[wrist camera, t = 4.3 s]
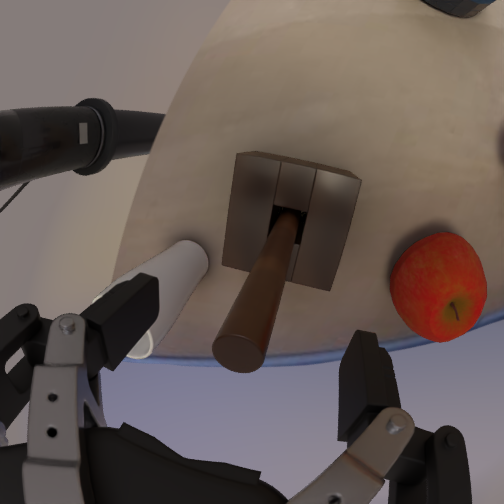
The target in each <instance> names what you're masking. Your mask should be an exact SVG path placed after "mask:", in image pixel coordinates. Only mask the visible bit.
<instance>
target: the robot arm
mask: <svg viewBox="0 0 504 504" xmlns="http://www.w3.org/2000/svg"><path fill="white" fill-rule="evenodd" d="M105 141H106V125H105V121H104V118H103V116H102V114H101V113H100V111H99V110H98V109H96V108H95V107H92V106H82V107H72V106H70V107H69V106H66V107H63V106H62V107H37V108H21V109H11V110H3V111H0V191H1V190H4V189H7V188H10V187H12V186H16V185H19V184H22V183H23V185H22V186H21V187H20V188H19V189H18V190H17V191H16V192H15V193H14V195H13V196H12V197H11V198H10V199H9V200H8V201H7V202H6V203H5V204H4V205H3V207H2V208H1V209H0V212H2V211H3V210H4V209H5V208H6V207H7V206H8V204H9V203H10V202H11V201H12V200H13V199H14V198H15V197H16V196H17V195H18V194H19V193H20V192H21V190H22V189H23V188H24V187H25V186H26V185H27V184H28V183H29V182H30V181H32V180H35V179H39V178H42V177H46V176H50V175H53V174H57V173H61V172H65V171H70V170H74V169H78V168H86V167H89V166H91V165H93V164H94V163H95V162H96V161H97V160H98V159H99V157H100V155H101V153H102V151H103V149H104V145H105ZM159 310H160V303H159V280H158V278H157V277H155V276H151V275H148V274H145V273H142V272H140V273H138V274H137V275H136V276H135V277H133V278H132V279H131V280H130V281H129V280H126V281H123V282H121V283H118V284H116V285H115V286H114V287H112V288H111V289H110V290H109V291H108V292H106V293H105V294H104V295H102V297H100V298H99V299H98V300H96V301H95V302H94V303H93V304H92V305H90V306H89V307H88V308H87V309H85V310H84V311H83V312H82V313H81V314H80V315H77V314H72V313H68V314H63V315H60V316H58V317H57V318H55V319H54V320H50V319H46V318H42V317H40V314H39V312H38V308H37V307H36V306H35V305H32V304H21V305H19V306H17V307H15V308H14V309H12V310H11V311H10V312H9V313H8V314H6V315H5V316H4V317H3V318H2V319H0V504H369V503H370V501H371V500H372V499H373V498H374V497H375V495H376V494H377V493H378V491H380V489H381V488H382V486H383V485H384V483H385V480H384V479H387V480H390V481H389V497H388V504H472V494H471V482H470V473H469V465H468V458H467V452H466V446H465V441H464V437H463V435H462V434H461V432H460V431H459V430H458V429H456V428H455V427H453V426H449V425H447V426H442V427H440V428H439V429H438V430H437V431H436V432H435V433H433V432H429V431H426V430H423V429H420V428H418V427H415V424H414V421H413V419H412V417H411V416H410V415H409V413H407V412H406V411H405V410H403V409H401V404H400V398H399V393H398V387H397V382H396V379H395V373H394V370H393V364H392V359H391V357H390V355H389V354H388V352H387V351H386V349H385V348H382V347H379V345H378V340H377V336H376V334H375V333H372V332H367V331H362V330H356V331H355V333H354V335H353V337H352V339H351V341H350V343H349V346H348V348H347V350H346V352H345V354H344V356H343V358H342V360H341V363H340V368H339V414H338V441H344V442H347V449H346V450H345V451H344V452H343V453H342V454H341V455H340V456H339V457H338V458H337V459H336V460H335V461H334V462H333V463H332V464H331V465H330V466H329V467H328V468H327V469H325V470H324V471H323V472H322V473H321V474H320V475H319V476H318V477H316V478H315V479H314V480H313V481H312V482H311V483H309V484H308V485H307V486H306V487H305V488H304V489H302V490H301V491H300V492H298V493H297V494H296V495H295V496H293V497H292V498H291V499H289V500H287V499H286V497H285V496H284V495H283V494H282V493H280V492H279V491H278V490H277V489H275V488H274V487H273V486H271V485H269V484H268V483H266V482H264V481H262V480H260V479H259V478H260V474H261V472H260V471H256V470H251V469H247V468H243V467H239V466H235V465H232V464H228V463H222V462H212V461H202V460H194V459H188V458H184V457H182V456H181V455H179V454H177V453H176V452H175V451H173V450H172V449H170V448H169V447H167V446H166V445H165V444H163V443H162V442H160V441H159V440H158V439H156V438H155V437H153V436H151V435H149V434H147V433H145V432H143V431H140V430H138V429H136V428H134V427H132V426H130V425H128V424H126V423H124V422H123V424H122V425H121V427H120V428H119V429H118V428H111V427H107V424H106V421H105V418H104V413H103V405H102V393H101V377H100V372H99V371H100V370H101V368H102V367H103V366H104V367H105V368H107V369H109V370H111V371H114V370H115V369H116V367H117V366H118V365H119V364H120V363H121V361H122V360H123V359H124V358H125V357H126V355H127V354H128V353H129V352H130V351H131V349H132V348H133V347H134V346H135V345H136V344H137V342H138V341H139V340H140V339H141V338H142V336H143V335H144V334H145V333H146V332H147V331H148V329H149V328H150V327H151V326H152V325H153V324H154V322H155V321H156V320H157V317H158V315H159ZM20 347H21V348H22V350H23V353H24V355H25V356H24V357H23V358H22V359H21V360H20V361H19V362H18V363H17V364H16V365H15V366H14V367H13V368H12V369H11V371H10V372H9V373H8V374H6V372H5V364H6V362H7V361H8V359H9V358H10V357H11V356H12V355H13V354H14V353H15V352H16V351H17V350H19V348H20ZM29 400H30V403H29V414H28V433H27V434H28V435H27V443H21V444H15V445H9V446H8V439H7V438H6V437H5V436H6V430H7V429H8V427H9V426H10V424H11V423H12V422H13V421H14V419H15V418H16V417H17V415H18V414H19V413H20V412H21V410H22V409H23V408H24V406H25V405H26V404H27V403H28V402H29ZM383 478H384V479H383Z"/></svg>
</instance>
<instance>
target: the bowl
mask: <svg viewBox="0 0 504 504" xmlns="http://www.w3.org/2000/svg"><path fill="white" fill-rule="evenodd" d="M425 1H426V2H428V3H429V4H431V5H432V6H434V7H437V8H439V9H441V10H443V11H445V12H447V13H450V14H454V15H457V16H461V17H469V16H474V15H476V14H477V13H478V12H480V11H481V10H483V9H484V8H486V7H487V6H489V5H490V4H491V3H493V2H494V1H496V0H425Z"/></svg>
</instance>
